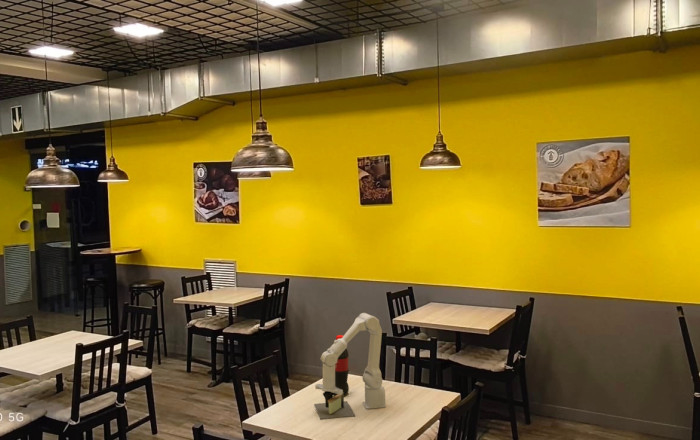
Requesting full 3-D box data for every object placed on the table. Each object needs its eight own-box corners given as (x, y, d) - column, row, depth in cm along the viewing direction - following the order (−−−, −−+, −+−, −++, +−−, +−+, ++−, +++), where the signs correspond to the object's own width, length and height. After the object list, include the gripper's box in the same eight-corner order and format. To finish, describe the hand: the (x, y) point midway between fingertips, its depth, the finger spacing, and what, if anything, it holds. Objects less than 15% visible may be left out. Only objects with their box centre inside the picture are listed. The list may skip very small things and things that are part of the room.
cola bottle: (338, 390, 282) (338, 332, 281) (352, 393, 277) (351, 335, 276) (328, 395, 276) (328, 336, 274) (342, 398, 271) (341, 338, 270)
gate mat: (346, 402, 266) (346, 386, 266) (355, 416, 248) (355, 400, 248) (314, 404, 263) (314, 389, 262) (320, 419, 245) (320, 403, 245)
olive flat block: (338, 406, 258) (338, 393, 258) (342, 407, 257) (342, 394, 257) (327, 413, 249) (327, 400, 249) (331, 414, 249) (331, 400, 248)
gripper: (311, 377, 252) (311, 406, 253) (336, 383, 244) (336, 413, 244) (320, 373, 258) (320, 401, 259) (345, 379, 250) (345, 408, 250)
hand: (328, 407), depth 252 cm, fingers closed, pressing on olive flat block
